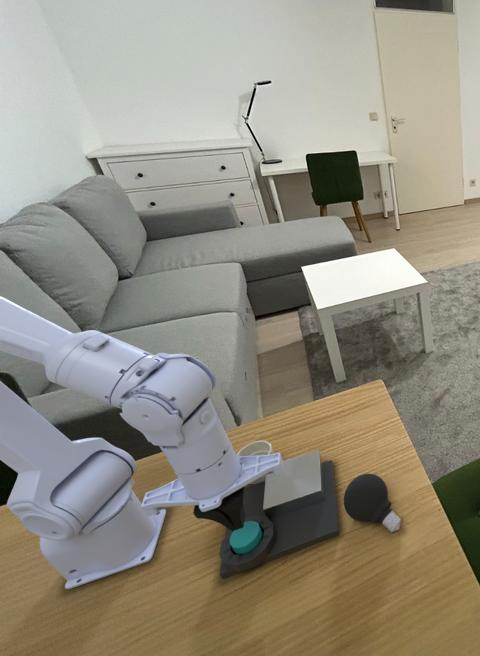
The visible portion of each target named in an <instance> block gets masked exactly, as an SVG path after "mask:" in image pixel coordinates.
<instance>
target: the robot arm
mask: <svg viewBox="0 0 480 656" xmlns="http://www.w3.org/2000/svg"><path fill="white" fill-rule="evenodd" d="M0 352H1V353H2V352H3V353H6V354H9V355H12V356H15V357H18V358H22V359H25V360H28V361H30V362H33V363H34V362H35V363H37V364H42V365H43V366H44V370H45V376H46V378H47V380H48V381H49V382H51V383H53V384H56V385H59V386H61V387H63V388H64V387H65V388H67V389H69V390H72V391H74V392H76V393H79V394H82V395H85V396H87V397H90V398H92V399H95V400H97V401H100V402H103V403H105V404H107V405H109V406H113V407H115V408H118V409H121V412H119V415H120V417H121V419H123V421H125V422H126V423H127V424H128V425H129V426H131V427H132V428H134V429H135V430H137V431H139V433H142V435H143V436H144V437H145V439H146V441H147V442H148V443H151V444H152V445H153V446H156V447H158V446H159V448H160V450H161V452H162V454H163V455H164V457H165V458H166V460H167V462H168V464H169V465H170V467H171V469H172V470H173V472H174V473H175V475H176V477H177V478H176V479H173V480H172V481H170V482H168V483H166V484H164V485H162V486H159V487H157V488H154V489H152V490H149V491H146V492H145V494H144V496H143V499H142V501H140V499H139V497H138V496H137V495H136V493H135V492H134V491H133V487H134V485H135V484H136V482H135V481H134V479H133V476H134V475H135V474H136V472H137V470H138V467H137V464H136V461H135V459H134V457H133V456H132V455H131V454H130V453H129V452H127V451H125V450H124V449H122V448H119V447H117V446H115V445H113V444H111V443H110V442H108V441H107V440H105V439H104V438H103V437H87V438H82V439H76V440H71V439H70V438H68V437H67V436H66V435H65V434H64V433H62V432H61V431H60V430H59V429H58V428H56V427H55V426H54V425H53V424H52V423H51V422H49V421H48V420H47V419H46V418H45V417H44V416H43V415H42V414H40V413H39V412H38V411H36V410H35V409H34V408H33V407H32V406H30V405H29V403H27V402H26V401H25V400H24V399H23V398H22V397H20V396H19V395H17V394H16V393H15V392H14V391H13V390H12V389H11V388H9V387H8V385H6V384H5V383H3V382H2V381H1V380H0V461H1V462H2V463H4V464H5V465H7V467H9V468H11V469H12V470H13V471H15V472H16V473H17V477H16V480H15V482H14V485H13V487H12V489H11V492H10V495H9V496H8V499H7V501H6V508H7V509H9V511H10V512H11V513H12V514H13V515H14V516H15V517H17V518H18V519H19V521H20V522H21V525H22V526H23V527H24V528H25V529H26V530H27V531H28V532H29V533H32V534H33V535H35V536H38V537H39V547H40V553H41V555H42V556H43V557H44V559H45V560H46V561H47V562H48V563H49V564H50V565H51V566H52V567H53V568H54V569H55V570H56V572H58V573H59V574H60V575H61V577H63V578H64V579H65V580H66V582H65V585H64V588H65V590H71V589H74V588H76V587H80V586H82V585H86V584H88V583H91V582H93V581H97V580H100V579H103V578H106V577H108V576H111V575H114V574H117V573H119V572H120V573H121V572H122V571H125V570H129V569H131V568H134V567H137V566H140V565H143V564H145V563H149V562H150V561H151V560H152V559H153V557H154V553H155V551H156V548H157V544H158V541H159V537H160V534H161V531H162V528H163V525H164V521H165V518H166V516H167V510H166V509H164V508H168V507H169V508H170V507H189V506H190V507H191V506H194V508H193V512H192V513H193V515H194V517H195V518H196V519H204V520H208V521H213V522H215V523H218V524H220V525H222V526H223V527H225V528H226V529H227V528H228V529H230V530H231V531H235V530H238V529H241V528H243V527H244V521H245V512H244V506H243V497H244V490H245V487H247V485H250V484H249V483H251V482H253V481H254V480H256V479H258V478H260V477H262V476H265V475H268V474H272V473H273V474H274V476H278V475H281V474H283V470H284V461H285V460H284V459H283V455H282V454H281V452H276V453H275V452H274V453H275V454H271V455H259V456H237V454H236V451H235V449H234V447H233V445H232V442H231V440H230V438H229V436H228V434H227V432H226V430H225V428H224V426H223V423H222V421H221V419H220V417H219V414H218V412H217V411H216V408H215V406H214V403H213V402H212V400H211V398H210V397H209V395H210V394H211V393H212V391H213V390H214V389H215V388H216V385H217V379H216V376H215V374H214V372H213V371H212V369H211V368H210V367H209V366H208V365H207V364H205V363H204V362H202V361H201V360H199V359H197V358H195V357H194V356H192V355H191V354H185V353H173V354H169V353H166V352H158V353H157V354H154V353H151V352H148V351H146V350H144V349H142V348H139V347H137V346H135V345H132V344H130V343H129V342H125V341H123V340H120V339H119V338H115V337H113V336H111V335H109V334H106V333H104V332H102V331H99V330H95V329H91V330H84V331H79V332H71V331H69V330H67V329H66V328H63V327H62V326H60V325H58V324H56V323H54V322H52V321H50V320H48V319H46V318H43V317H42V316H40V315H38V314H36V313H34V312H33V311H30V310H28V309H27V308H24V307H22V306H20V305H18V304H17V303H15V302H13V301H10V300H9V299H7V298H5V297H3V296H1V295H0Z"/></svg>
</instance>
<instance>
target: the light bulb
mask: <svg viewBox="0 0 480 656" xmlns="http://www.w3.org/2000/svg"><path fill="white" fill-rule="evenodd" d="M391 505H392V501H391V500H389V491H388V486H387V484H386V482H385V481H384V480H383V478H381V476H379V475H377V474H375V473H363V474H360V475H358V476H356V477H355V478H353V479H352V480H351V481H350V482H349V484H348V485H347V487H346V489H345V492H344V493H343V506H344V510H345V512H346V513H347V515H348V516H349V517H350V519H353V520H354V521H357V522H372V524H377V523H378V522H379V523H380V524H382V525H383V526H384V527H385V528H386V529H387V530H388V531H389V532H390V533H391V534H392V533H395V532H396V531H398V530H400V527H401V524H402V523H401V522H402V518H400V517H399V516H398V515H397V513H395V512H394V510H392V508H391Z"/></svg>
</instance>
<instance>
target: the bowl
mask: <svg viewBox="0 0 480 656" xmlns="http://www.w3.org/2000/svg"><path fill="white" fill-rule="evenodd" d="M271 454H275V451H274V448H273V446H272V444H271V443H270V441H267V440H255V441H252V442H250V443H248V444H246V445H244V446H243V447H242V448H240V450H239V451H238V452H237V454H236V455H237V456H259V455H271ZM265 480H266V475H265V476H262V477H260V478H258V479H256V480H254V481H253V482H251V483H249V484H248V485H254V484H257V483H260V482H264V481H265Z"/></svg>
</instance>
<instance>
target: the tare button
mask: <svg viewBox="0 0 480 656" xmlns="http://www.w3.org/2000/svg"><path fill="white" fill-rule="evenodd" d="M261 539H262V531H261V529H260V527H259V525H258V523H256V522H254V521H249V522H245V523H244V527H243V528H241V529H238V530H235V531H233V533H232V534H231V537H230V545H231V546H232V548H233V550H234V552H235V553H237V554H245V553H248V552H250V551H252V550H253V549H254V548H255V547H256V546H257V545H258V544H259V543H260V541H261Z"/></svg>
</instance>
